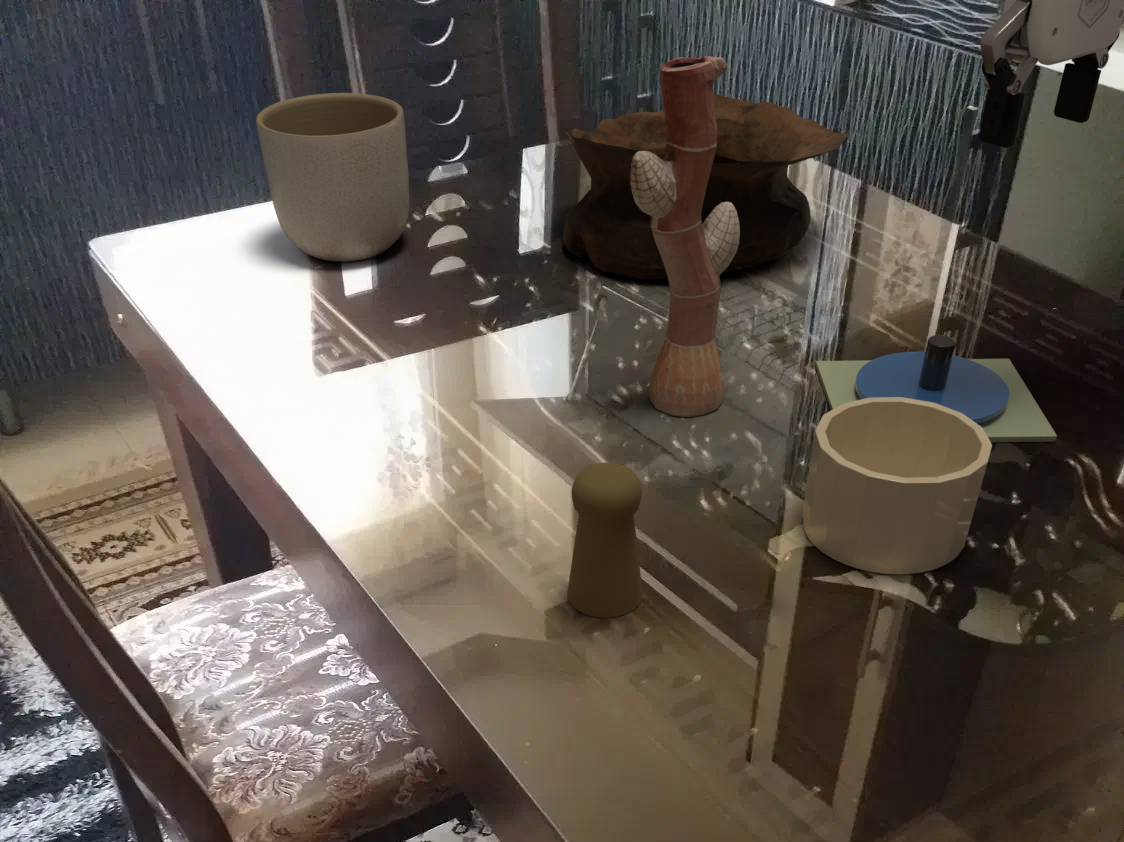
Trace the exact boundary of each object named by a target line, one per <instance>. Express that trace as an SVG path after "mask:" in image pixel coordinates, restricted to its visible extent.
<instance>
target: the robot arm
mask: <svg viewBox="0 0 1124 842" xmlns="http://www.w3.org/2000/svg"><path fill="white" fill-rule="evenodd" d="M1123 24H1124V0H1005V2H1004V7H1003V11H1002V15H1001V16H1000V17H999V18H998V19H997V20H996V21H994V23H992V25H991V26H990V27H988V29H986V31H985V32H984V33H983V34H982V36H981V38H980V50H981V59H982V62H981V72H982V74H983V76H984V78H985V79H984V88H985V89H987V93H986V98H985V103H984V109H983V113H982V119H981V122H980V127H979V134H978V139H979V141H980V142H984V143H987V144H990V145H994V146H997V147H1000V148H1005V149H1008V148H1011V147H1013V146H1014V144H1015V141H1016V136H1017V133H1018V127H1019V124H1020V118H1021V115H1022V110H1023V105H1024V100H1025V95H1026V93H1024V92H1020V91H1021V89H1022V88H1023V86H1024V85H1025V83H1026V81H1027V80H1028V78H1029V76H1030V75H1031V73H1032V72H1033V70H1034V68H1035V67H1036V65H1037V63H1039V64H1041V65H1043V66H1054V65H1057V64H1061V63H1064V62H1067V61H1071V62H1072V63H1071V62H1067V63H1064V67H1063V71H1062V75H1061V79H1060V80H1061V81H1060V83H1059V88H1058V92H1057V96H1056V101H1055V104H1054V109H1053V114H1054V116H1055V117H1056V118H1060V119H1063V120H1068V121H1071V122H1074V123H1079V124H1083V123H1086V122H1088V121H1089V119H1090V117H1091V112H1092V109H1093V105H1094V101H1095V97H1096V93H1097V89H1098V85H1099V81H1100V77H1101V73H1102V70H1103V69H1104V68H1105V67H1106V65H1107V63H1108V62H1109V59H1110V53H1109V52H1110V50H1111V49H1112V47H1114V45H1115V43H1116V42H1117V40H1118V39H1119V37H1120V34H1121V33H1120V32H1121V28H1122V26H1123ZM1013 62H1017V63H1019V64H1018V66H1017V68H1016V69H1015V70H1013V69H1012V66H1011V64H1012V63H1013Z"/></svg>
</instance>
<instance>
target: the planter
mask: <svg viewBox="0 0 1124 842" xmlns="http://www.w3.org/2000/svg"><path fill="white" fill-rule="evenodd" d="M255 123H256V129H257V135H258V141H259V145H260V150H261V154H262V159H263V162H264V168H265V175H266V179H267V183H268V187H269V193H270V196H271V200H272V204H273V208H274V211H275V214H276V218H277V221H278V223H279V226H280V228H281V230H282V232H283V233H284V235H285V237H286V238H287V239H288V240H289V241H290V242H291V244H293V245H294V246H295V247H296V248H298V250H301V251H302V252H304V253H305V254H307V255H308V256H310V257H313V258H315V259H319V260H322V261H328V262H339V263H340V262H357V261H362V260H367V259H370V258H373V257H376V256H378V255H381V254H382V253H384V252H385V251H387V250H388V249H390V248H391V247H392V246H393V245H394V244H395V243H396V242H397V241H398V240H399V239H400V237H401V236H402V234H403V233H404V230H405V228H406V226H407V224H408V220H409V213H410V211H409V210H410V180H409V179H410V178H409V163H408V150H407V137H406V136H407V135H406V124H405V113H404V109H403V107H402V106H401V104H399V103H397V102H396V101H395V100H392V99H389V98H387V97H383V96H379V95H374V94H367V93H356V92H329V93H315V94H309V95H303V96H297V97H293V98H288V99H285V100H281V101H278V102H276V103H273V104H270V105H268V106H267V107H265V108H263V109H262V110H261V111H260V112H258V114H257V115H256V117H255Z"/></svg>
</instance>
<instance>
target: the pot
mask: <svg viewBox="0 0 1124 842" xmlns="http://www.w3.org/2000/svg"><path fill="white" fill-rule="evenodd" d="M992 449H993V443H992V442H990V440H989V438H988V436H987V434H986V433H985V431H984V429H983V428H982V427H981V426H979V425H978V424H976V423H975V422H974V421H972V420H971V419H970V418H968V417H967V416H965V415H964V414H962V413H960V412H958V411H955V410H952V409H950V408H947V407H944V406H942V405H939V404H937V403H933V402H928V401H922V400H916V399H910V398H904V397H902V398H901V397H871V398H865V399H861V400H856V401H852V402H847V403H843V404H841V405H839V406H837V407H836V408H834V409H832V410H829V411H827V412H826V413H824V414H823V415H822V416H821V418H820V420H819V422H818V424H817V426H816V428H815V430H814V436H813V443H812V449H811V456H810V461H809V467H808V474H807V480H806V487H805V494H804V500H803V506H802V513H801V516H802V526H803V531H804V532H805V535H806V537H807V538H808V540H809V541H810V542H811V544H812V545H813V546H814V547H815V548H817V550H818V551H820V552H821V553H823V554H824V555H825V556H827V557H829V558H831V559H833V560H834V561H836V562H838V563H841V564H843V565H845V566H848V567H850V568H853V569H858V570H862V571H865V572H869V573H875V574H883V575H913V574H920V573H921V574H922V573H925V572H930V571H934V570H937V569H939V568H942V567H944V566H946V565H948V564H949V563H951V562H952V561H954V560H955V559H956V558H957V557H958V556H959V555H960V554H961V553H962V551H963V550H964V548H965V546H966V542H967V539H968V535H969V532H970V528H971V525H972V520H973V517H974V513H975V510H976V506H977V502H978V499H979V496H980V491H981V489H982V485H983V482H984V478H985V473H986V470H987V466H988V464H989V459H990V457H991V452H992Z"/></svg>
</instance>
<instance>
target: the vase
mask: <svg viewBox="0 0 1124 842" xmlns="http://www.w3.org/2000/svg"><path fill="white" fill-rule="evenodd" d="M727 70H728V64H727V61H726V60H725V58H723V57H720V56H718V57H717V56H716V57H714V56H712V55H705V56H703V57H677V58H673V59H670V60H668V61H666V62H665V63H663V64H662V65H661V67H660V73H659V85H660V91H661V96H662V97H661V98H662V106H663V110H664V114H665V121H666V148H665V155H664V157H663V159H661V158H659V157H658V156H657V155H655V154H654V153H652V152H649V151H638V152H637V153H636V154H635V155H634V156H633V159H632V163H631V170H630V185H631V190H632V194H633V197H634V200H635V203H636V204H637V205H638V207H639V208H640V209H641V211H643V212H645V213H646V214H648V215H650V216H651V223H650V224H651V228H652V232H653V235H654V239H655V242H656V245H657V247H658V250H659V252H660V255H661V257H662V260H663V263H664V266H665V269H666V273H667V276H668V279H667V280H668V285H669V310H668V322H667V328H666V333H665V338H664V340H663V342H662V345H661V347H660V350H659V352H658V355H657V358H656V360H655V363H654V365H653V369H652V372H651V375H650V379H649V386H648V399H649V400H650V402H651V404H652V405H653V406H654V408H655V409H656V410H657V411H659V412H662V413H664V414H666V415H668V416H671V417H679V418H680V417H681V418H692V417H693V418H694V417H700V416H705V415H707V414H711V413H713V412H715V411H716V410H718V408H719V407H720V406H721V404H722V403H723V402H724V377H723V371H722V370H723V369H722V364H721V359H720V355H719V350H718V345H717V340H716V336H717V335H716V332H717V318H718V312H719V311H718V310H719V304H720V300H721V291H722V289H721V288H722V285H721V278H720V275H721V274H723V273H722V272H723V271H724V270H725V269H726V268H727V267H728V266H729V264H730V262H731V261H732V259H733V257H734V256H735V254H736V252H737V249H738V245H739V238H740V225H739V219H738V215H737V211H736V209H735V207H734V206H733V204H732V203H731V202H723V203H720V204H719V205H718V206H717V207H715V209H714V210H713V211H712V212H711V213H710V214H709V216H708V217H707V218H706V220H705V221H704V223H703V224H702V221H701V212H702V206H703V201H704V197H705V192H706V188H707V184H708V180H709V176H710V172H711V168H712V164H713V160H714V156H715V152H716V148H717V126H716V115H715V104H714V94H715V93H714V83H715V80H716V79H717V78H719V77H721V76H722V75H723V74H724V73H726V71H727Z"/></svg>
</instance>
